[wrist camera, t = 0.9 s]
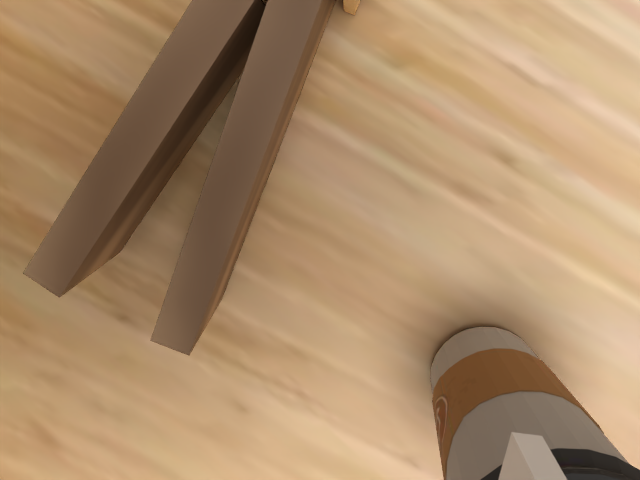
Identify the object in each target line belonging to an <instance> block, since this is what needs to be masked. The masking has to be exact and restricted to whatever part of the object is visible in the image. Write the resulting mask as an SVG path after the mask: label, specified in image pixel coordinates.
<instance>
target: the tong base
mask: <svg viewBox="0 0 640 480" xmlns="http://www.w3.org/2000/svg"><path fill="white" fill-rule="evenodd" d="M335 1H336V0H268V1H267V4H266V7H265V10H264V13H263V16H262V19H261V21H260V24H259V27H258V30H257V33H256V36H255V39H254V42H253V45H252V48H251V50H250V53H249V56H248V59H247V62H246V65H245V68H244V71H243V74H242V77H241V79H240V82H239V85H238V88H237V91H236V94H235V97H234V100H233V103H232V105H231V108H230V111H229V114H228V117H227V120H226V123H225V126H224V129H223V132H222V134H221V137H220V140H219V143H218V146H217V149H216V152H215V155H214V158H213V161H212V163H211V166H210V169H209V172H208V175H207V178H206V181H205V184H204V187H203V189H202V192H201V195H200V198H199V201H198V204H197V207H196V210H195V213H194V216H193V218H192V221H191V224H190V227H189V230H188V233H187V236H186V239H185V242H184V245H183V247H182V250H181V253H180V256H179V259H178V262H177V265H176V268H175V271H174V274H173V276H172V279H171V282H170V285H169V288H168V291H167V294H166V297H165V300H164V302H163V305H162V308H161V311H160V314H159V317H158V320H157V323H156V326H155V329H154V331H153V334H152V337H151V340H150V341H153V342H155V343H158V344H160V345H163V346H166V347H168V348H171V349H173V350H176V351H179V352H181V353H184V354H187V355H190V353H191V351H192V350H193V348H194V346H195V345H196V343H197V341H198V339H199V338H200V336H201V334H202V332H203V331H204V329H205V327H206V325H207V324H208V322H209V320H210V319H211V317H212V315H213V313H214V312H215V310H216V308H217V306H218V305H219V303H220V301H221V299H222V297H223V294H224V292H225V289H226V287H227V284H228V281H229V279H230V276H231V274H232V271H233V268H234V266H235V263H236V260H237V258H238V255H239V253H240V250H241V247H242V245H243V242H244V239H245V237H246V234H247V232H248V229H249V226H250V224H251V221H252V218H253V216H254V213H255V211H256V208H257V205H258V203H259V200H260V197H261V195H262V192H263V190H264V187H265V184H266V182H267V179H268V176H269V174H270V171H271V169H272V166H273V163H274V161H275V158H276V155H277V153H278V150H279V148H280V145H281V142H282V140H283V137H284V135H285V132H286V129H287V127H288V124H289V121H290V119H291V116H292V114H293V111H294V108H295V106H296V103H297V100H298V98H299V95H300V93H301V90H302V87H303V85H304V82H305V79H306V77H307V74H308V72H309V69H310V66H311V64H312V61H313V58H314V56H315V53H316V51H317V48H318V45H319V43H320V40H321V37H322V35H323V32H324V30H325V27H326V24H327V22H328V19H329V16H330V14H331V11H332V9H333V6H334V3H335Z"/></svg>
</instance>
